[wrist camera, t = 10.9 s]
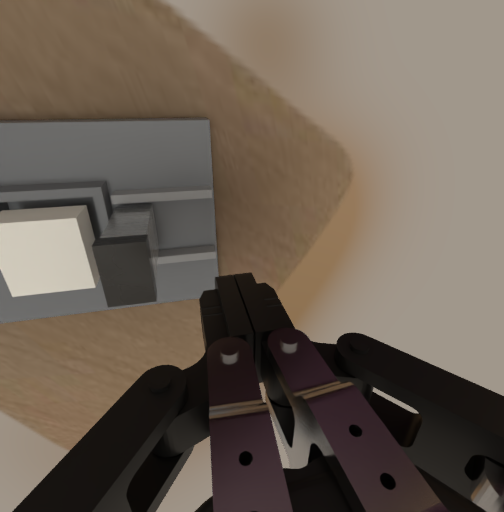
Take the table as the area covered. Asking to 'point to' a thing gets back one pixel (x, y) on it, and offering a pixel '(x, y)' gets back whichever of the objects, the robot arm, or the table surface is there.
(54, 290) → the white button
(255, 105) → the table surface
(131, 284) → the paddle switch
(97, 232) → the panel
